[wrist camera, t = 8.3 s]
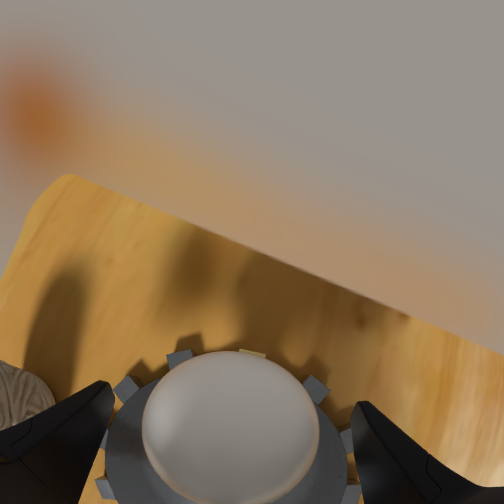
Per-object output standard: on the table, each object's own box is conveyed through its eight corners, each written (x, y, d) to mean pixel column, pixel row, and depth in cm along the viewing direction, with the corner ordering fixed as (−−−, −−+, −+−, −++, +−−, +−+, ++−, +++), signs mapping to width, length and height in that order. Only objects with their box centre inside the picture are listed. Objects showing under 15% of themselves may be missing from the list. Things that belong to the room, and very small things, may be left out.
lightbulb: (261, 472, 13) (272, 563, 4) (173, 428, 15) (79, 463, 5) (306, 392, 16) (380, 392, 6) (219, 350, 17) (175, 295, 8)
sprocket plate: (396, 485, 13) (408, 491, 11) (191, 582, 8) (187, 592, 6) (264, 304, 21) (265, 295, 19) (65, 410, 16) (51, 409, 14)
